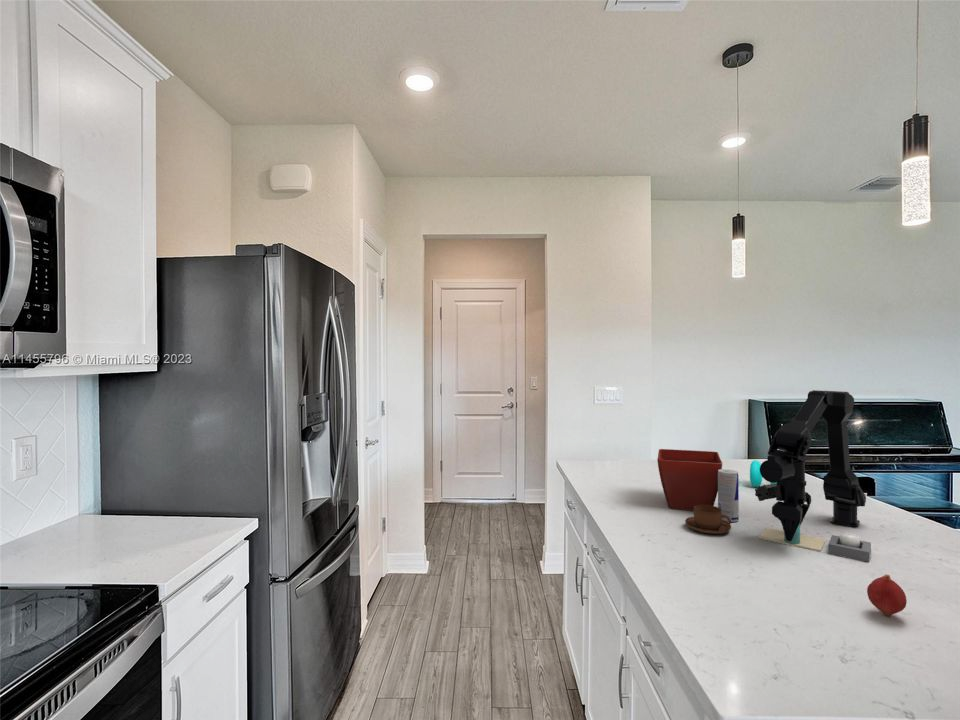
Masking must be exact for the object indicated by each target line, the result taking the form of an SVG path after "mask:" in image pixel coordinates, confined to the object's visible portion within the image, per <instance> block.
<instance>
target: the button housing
mask: <svg viewBox="0 0 960 720" xmlns="http://www.w3.org/2000/svg"><path fill="white" fill-rule="evenodd" d="M827 548H828V554H830V555H834V556H839V557H844V558H847V559H853V560H855V561H856V560H858V561H861V562H862V561H863V562H865V563H866V562H867V563H870V559H871V554H872V553H871V552H872V542H869V541H866V540H865V541H864V540H860V548H855V547H850V546H845V545H840V535H839V536H838V535H833V534H832V535H831V536H830V539H829V541H828V543H827Z"/></svg>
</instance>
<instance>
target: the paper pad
mask: <svg viewBox="0 0 960 720" xmlns="http://www.w3.org/2000/svg"><path fill="white" fill-rule="evenodd" d="M758 539H760V540H765V541H768V542H769V541H770V542H772V543H773V542H774V543H778V544H783V545H787V546H791V547H792V546H793V547H796V548H802V549H806V550H811V551H816V552H820V553H822V551H823V548H824V546H825V544H826V542H827V538H823V537H819V536H818V537H817V536H812V535H808V534H803V533H800V544H790V543H787V542H785V541H784V530H783V529H780V528H779V529H778V528H773V527H768V526H767V527H766V528H765V529H764V530H763V531H762V533H761V534H760V535H759V536H758Z"/></svg>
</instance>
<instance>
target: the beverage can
mask: <svg viewBox="0 0 960 720" xmlns="http://www.w3.org/2000/svg"><path fill="white" fill-rule="evenodd" d="M739 483H740V482H739V471H737V470H735V469H725V468H724V469H723V468H722V469H720V470H718V493H717V507H718V508H720V509H721V510H722V515H726V516H728V517H729V518H730V519H731V523H736V522H738V521H739V519H740V518H739V517H740V515H739V513H740V510H739V509H740V506H739V505H740V504H739V503H740V502H739V498H740V496H739V495H740V494H739V491H740V489H739ZM722 520H723V521H726V522H728V519H727V518H725V517H723V518H722Z"/></svg>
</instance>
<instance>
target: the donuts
mask: <svg viewBox="0 0 960 720" xmlns="http://www.w3.org/2000/svg"><path fill="white" fill-rule="evenodd" d="M760 462H761V461H758V460H752V461H751V462H750V465H749V466H750V467H749V482H750V485H751V487H753V488H757V487H758V486H762V482H763V477H762V476H761V473H760V466H761V464H762V463H760ZM769 483H770V484H777V482H776V483H771V482H769Z"/></svg>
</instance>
